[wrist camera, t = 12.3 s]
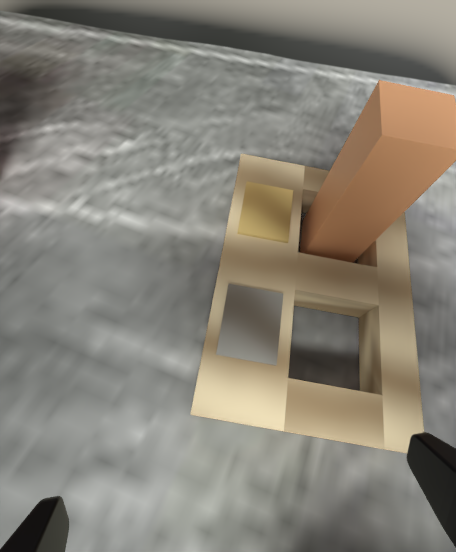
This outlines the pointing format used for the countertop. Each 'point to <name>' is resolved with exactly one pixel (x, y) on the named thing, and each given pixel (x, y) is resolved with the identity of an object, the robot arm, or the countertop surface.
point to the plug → (381, 169)
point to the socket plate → (316, 295)
